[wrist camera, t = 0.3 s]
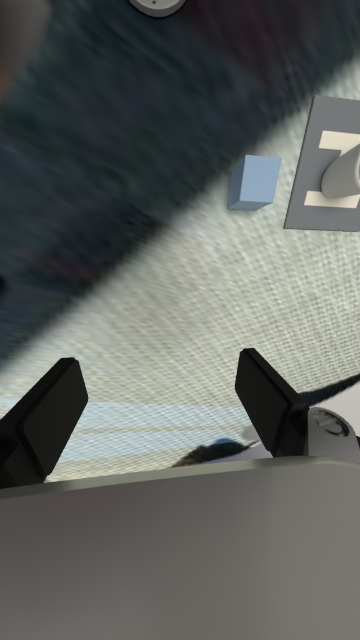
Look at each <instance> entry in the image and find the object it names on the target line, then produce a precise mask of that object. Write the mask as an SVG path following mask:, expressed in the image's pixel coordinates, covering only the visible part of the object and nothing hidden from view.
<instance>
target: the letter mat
mask: <svg viewBox="0 0 360 640" xmlns="http://www.w3.org/2000/svg"><path fill="white" fill-rule="evenodd" d="M359 143H360V101H359V100H351V99H343V98H335V97H328V96H320V95H315V96H314V97H313V100H312V104H311V109H310V113H309V117H308V122H307V126H306V131H305V135H304V139H303V144H302V148H301V153H300V157H299V162H298V166H297V170H296V175H295V179H294V184H293V188H292V193H291V197H290V201H289V206H288V210H287V215H286V219H285V223H284V228H286V229H309V230H331V231H353V232H359V231H360V194H359V195H353V196H348V197H343V198H336V199H332V198H328V197H326V196H325V195H324V194H323V192H322V189H321V182H322V178H323V175H324V173H325V171H326V169H327V168H328V167H329V166H330V164H331V163H332V162H334V161H335V160H336V159H337V158H339V157H340V156H342V155H343V154H345V153H346V152H348V151H349V150H351V149H352V148H354V147H355V146H357V145H358V144H359Z"/></svg>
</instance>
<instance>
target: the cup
mask: <svg viewBox="0 0 360 640" xmlns="http://www.w3.org/2000/svg"><path fill="white" fill-rule="evenodd" d="M321 189H322V192H323V194H324V195H325V196H326V197H328V198H332V199H336V198H343V197H348V196H353V195H359V194H360V143H359V144H358V145H357V146H355V147H354V148H352V149H351V150H349V151H348V152H346V153H345V154H343V155H342V156H340V157H339V158H337V159H336V160H335V161H334V162H332V163H331V164H330V166H329V167H328V168H327V169H326V171H325V173H324V175H323V178H322V182H321Z"/></svg>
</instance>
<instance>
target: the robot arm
mask: <svg viewBox="0 0 360 640" xmlns="http://www.w3.org/2000/svg"><path fill="white" fill-rule="evenodd" d="M129 1H130V2H131V3H132V4H133V5H134V6H135V7H136V8H137V9H138V10H140V11H142V12H143V13H145V14H147V15H150V16H154V17H164V16H167V15H170V14H172V13H174V12H175V11H176V10H178V9H179V8H180V7H181V6H182V5H183V3H184V2H185V1H186V0H129ZM235 391H236V393H237V395H238V397H239V399H240V401H241V403H242V405H243V406H244V408H245V410H246V412H247V414H248V416H249V418H250V420H251V422H252V424H253V426H254V427H255V429H256V431H257V433H258V435H259V437H260V439H261V441H262V443H263V445H264V447H265V448H266V449H267V451H270V452H271V454H272V456H273V458H265V459H253V460H244V461H235V462H225V463H216V464H206V465H197V466H188V467H179V468H170V469H161V470H152V471H143V472H134V473H125V474H116V475H108V476H99V477H91V478H82V479H74V480H65V481H57V482H49V483H44V481H45V479H46V477H47V475H50V474H51V473H52V471H53V469H54V467H55V465H56V463H57V462H58V460H59V458H60V456H61V454H62V452H63V450H64V448H65V446H66V444H67V442H68V440H69V438H70V436H71V434H72V432H73V430H74V428H75V426H76V424H77V422H78V420H79V418H80V416H81V414H82V412H83V410H84V408H85V406H86V404H87V402H88V394H87V390H86V387H85V383H84V379H83V376H82V372H81V368H80V365H79V361H78V360H75V358H73V357H70V358H61V359H60V360H59V361H58V362H57V363H56V364H55V365H54V366H53V367H52V368H51V369H50V370H49V371H48V372H47V373H46V374H45V375H44V376H43V377H42V378H41V379H40V380H39V381H38V382H37V383H36V384H35V385H34V386H33V387H32V388H31V389H30V390H29V391H28V392H27V393H26V394H25V395H24V396H23V397H22V398H21V400H20V401H19V402H18V403H17V404H16V405H15V406H14V407H13V408H12V409H11V410H10V411H9V412H8V413H7V414H6V415H5V416H4V417H3V418H2V419H1V420H0V640H360V437H358V436H356V434H355V432H354V430H353V428H352V427H351V425H350V424H349V423H348V422H347V421H346V420H345V419H343V418H342V417H341V416H339V415H338V414H336V413H334V412H332V411H330V410H327V409H324V408H320V407H313V408H311V409H310V408H309V407H308V406H307V405H306V402H305V401H304V400H303V399H302V398H301V396H300V395H299V394H298V393H297V392H296V391H295V390H294V389H293V388H292V387H291V386H290V385H289V384H288V383H287V382H286V381H285V380H284V379H283V378H282V377H281V376H280V375H279V374H278V372H277V371H276V370H275V369H274V368H273V367H272V366H271V365H270V364H269V363H268V362H267V361H266V360H265V359H264V358H263V357H262V356H261V355H260V354H259V353H258V352H257V351H256V349H254V348H244V349H243V351H241V352H240V356H239V362H238V368H237V375H236V381H235Z"/></svg>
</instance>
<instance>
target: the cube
mask: <svg viewBox="0 0 360 640" xmlns="http://www.w3.org/2000/svg"><path fill="white" fill-rule="evenodd" d="M280 163H281V158H274V157H262V156H251V155H245V157H244V158H243V159H242V160H241V161H240V162H239V164H238V165H237V166H236V167H235V168H234V170H233V171H232V172H231V181H230V190H229V199H228V208H227V209H236V210H254V211H256V210H258V209H260V208H262V207H264V206H266V205H269V204H271V203H273V199H274V194H275V189H276V183H277V178H278V173H279V168H280Z"/></svg>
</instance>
